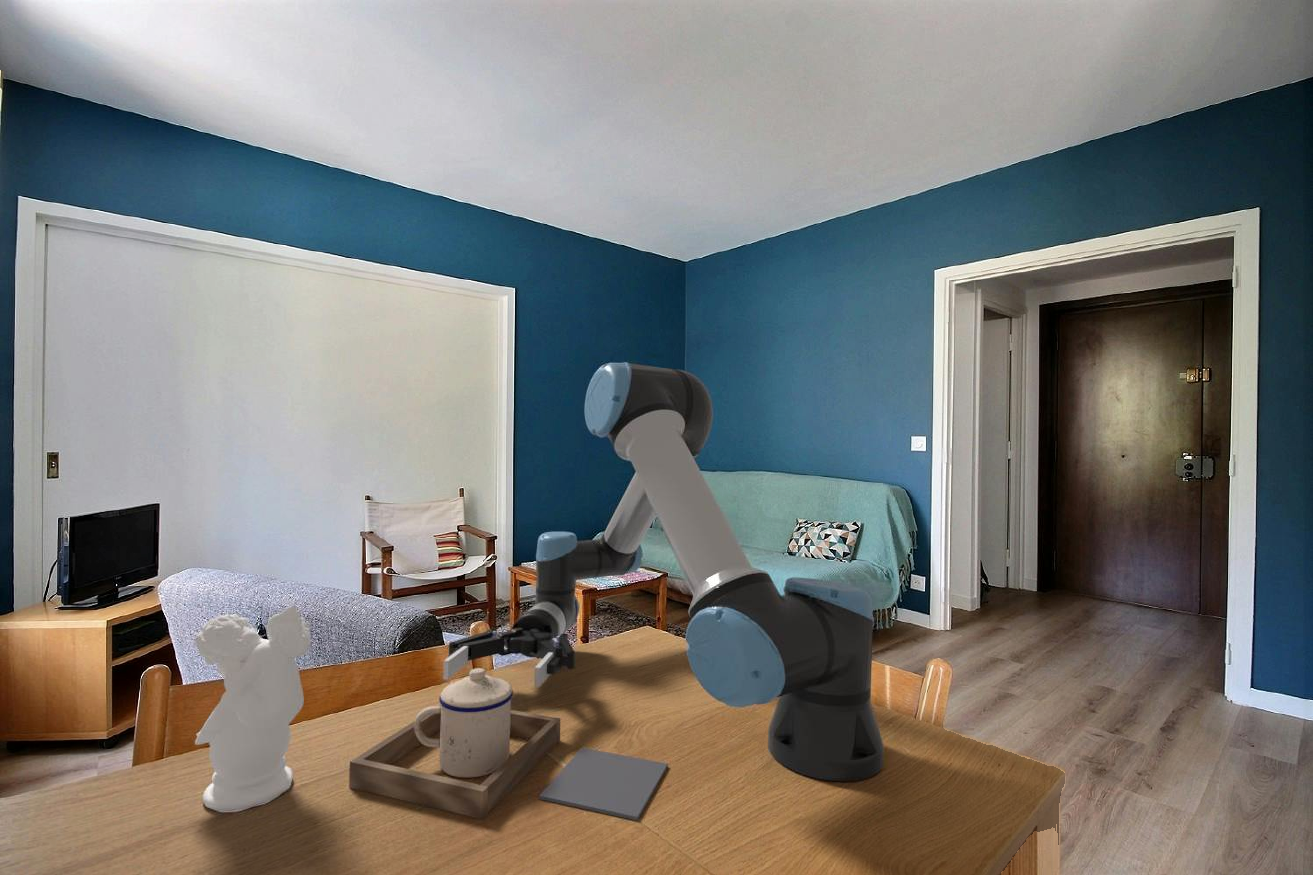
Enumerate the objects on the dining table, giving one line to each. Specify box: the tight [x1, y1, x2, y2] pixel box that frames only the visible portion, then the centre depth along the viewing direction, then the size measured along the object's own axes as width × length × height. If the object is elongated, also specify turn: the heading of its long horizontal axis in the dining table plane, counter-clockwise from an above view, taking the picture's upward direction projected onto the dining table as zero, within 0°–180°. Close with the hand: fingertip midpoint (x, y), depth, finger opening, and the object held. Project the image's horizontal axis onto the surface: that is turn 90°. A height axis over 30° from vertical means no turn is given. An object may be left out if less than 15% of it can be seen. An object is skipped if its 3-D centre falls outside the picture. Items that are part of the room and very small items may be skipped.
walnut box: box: [348, 704, 561, 820], centre depth 79 cm, size 18×19×3 cm
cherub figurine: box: [194, 603, 312, 813], centre depth 73 cm, size 12×12×22 cm
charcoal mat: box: [538, 747, 669, 821], centre depth 75 cm, size 12×12×1 cm
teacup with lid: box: [414, 667, 514, 779], centre depth 79 cm, size 12×9×12 cm
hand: (490, 673), depth 88 cm, fingers open, 13 cm apart
